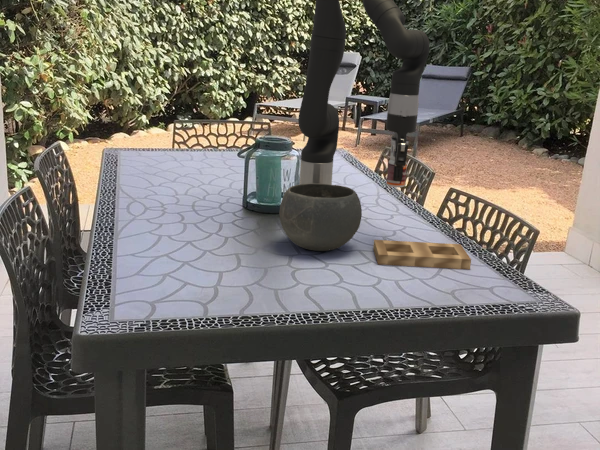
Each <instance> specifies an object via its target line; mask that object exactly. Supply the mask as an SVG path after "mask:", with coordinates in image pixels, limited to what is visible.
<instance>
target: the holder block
mask: <svg viewBox="0 0 600 450" xmlns="http://www.w3.org/2000/svg"><path fill="white" fill-rule="evenodd" d="M372 246H373V247H372V249H373V252H374V257H375V260H376V263H377V265H379V266H383V265H384V266H397V267H398V266H399V267H402V266H403V267H416V268H417V267H419V268H437V269H454V270H471V264H472V258H471V257H470V255H469V254H468V253H467V252H466V250H465V249H464V247H463V245H462V244H460V243H442V242H441V243H440V242H424V241H405V240H386V239H385V240H384V239H373V245H372Z"/></svg>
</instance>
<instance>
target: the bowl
mask: <svg viewBox="0 0 600 450" xmlns="http://www.w3.org/2000/svg"><path fill="white" fill-rule="evenodd" d="M299 184H300V183H299ZM299 184H295V185H292V186H289V188H288V189H286V191H285V193H283V196H282V198H281V202H280V205H279V211H278V212H279V213H278V214H279V221H280V225H281V227H282V230H283V231H284V233H285V234H286V236H287V237H288V238H289V240H290V241H291V242H292V243H293V244H295V245H296V246H298V247H299V248H302V249H305V250H308V251H315V252H328V251H329V252H330V251H333V250H336V249H339V248H341V247H343V246H344V245H346V244H347V243H348V242H349V241H351V239H352V238H353V237H355V235H356V233H357V232H358V229H359V228H360V226H361V221H362V215H363V213H362V205H361V200H360V197H359V195H358V194H357V192H356V191H355V190H354V189H353V188H350V187H348V186H344V185H339V184H332V185H330V184H317V183H309V184H300V185H299Z"/></svg>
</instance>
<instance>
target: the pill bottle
mask: <svg viewBox="0 0 600 450" xmlns="http://www.w3.org/2000/svg"><path fill="white" fill-rule="evenodd" d="M396 154H397V153H396ZM389 157H390V159H389V160H388V163H387V172H386V184H385V185H387V186H388V187H392V188H403V187H405V184H406V178H407V168H408V163H407V161H406V165H405V166H404V167H403V175H402V181H394V180H393V174H394V157H393V152H392V153H391V152H390V156H389ZM398 161H402V158H398Z"/></svg>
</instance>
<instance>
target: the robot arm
mask: <svg viewBox="0 0 600 450" xmlns="http://www.w3.org/2000/svg"><path fill="white" fill-rule="evenodd" d="M340 5H341V4H340V0H315V6H314V17H313V25H312V31H311V37H310V38H311V39H310V45H309V57H308V65H307V71H306V79H305V80H306V81H305V85H304V92H303V95H302V99H301V104H300V108H299V112H298V117H297V118H298V123H297V124H298V127H299V130H300V131H301V133H302V134H303V135H304V136H305V137H307V138H308V139H307V142H306V143H305V146H304V147H303V148H302V149H301V152H300V153H301V154H300V167H299V168H300V169H299V173H300V174H299V184H298V185H300V184H309V183H317V184H330V185H333V184H332V183H333V167H334V156H335V154H336V151H337V147H338V140H339V131H340V116H339V112H338V110H337V109H336V107H335V106H333V104H330V103H329V97H330V90H331V87H332V84H333V82H334V80H335V77H336V75H337V73H338V71H339V69H340V67H341V64H342V61H343V58H344V54H345V47H346V39H347V27H346V22H345V19H344V16H343V12H342V8H341V6H340ZM362 5H363V8H364V11H365V13H366V15H367V17H369V19H370V21H371V22H372V23H373V24H374V26H375V28H377V29H378V31H380V35H381V38H382V40H383V42H384V44H385V46H386V50H388V53H390V54H391V55H392V56H393V57H395V58H396V59H399V60H402V65H401V67H400V68H398V69H396V70H394V71H393V73H391V75H392V76H391V80H390V81H391V83H390V92H389V98H388V104H387V112H386V113H387V114H386V125H385V129H386V130H387V131H388V132H392V133H393V135H391V139H390V145H391V146H390V154H391V153H392V152H393V157H394V174H393V180H394V181H402V175H403V167H404V166H405V165H406V162H407V156H408V150H409V147H410V145H409V140H410V139H408V138H407V137H408V136H407V134H414V133H416V131H417V124H418V113H419V104H420V103H419V96H420V95H419V92H420V85H421V84H420V83H421V77H422V74H423V73H424V70H425V66H426V63H427V61H428V57H429V54H430V39H429V37H428V35H427V34H426V33H425V32H424V30H419V29H417V30H416V29H407V28H406V27H405V26H404V25H405V22H406V18H405V15H404V13H403V10H401V9H400V8H399V6H398V5H397V4H396V3H395V2H394V0H362ZM396 153H397V154H396ZM398 158H402V161H398Z"/></svg>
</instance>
